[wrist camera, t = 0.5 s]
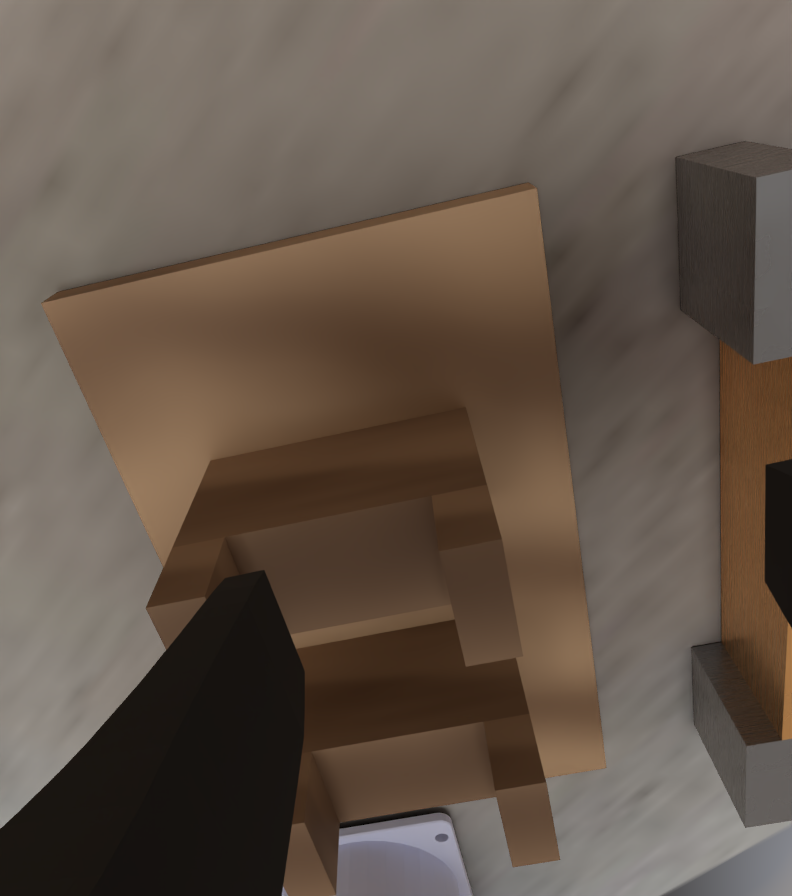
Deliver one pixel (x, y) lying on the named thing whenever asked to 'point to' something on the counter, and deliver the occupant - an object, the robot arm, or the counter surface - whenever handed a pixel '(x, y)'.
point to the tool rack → (369, 498)
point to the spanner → (744, 455)
